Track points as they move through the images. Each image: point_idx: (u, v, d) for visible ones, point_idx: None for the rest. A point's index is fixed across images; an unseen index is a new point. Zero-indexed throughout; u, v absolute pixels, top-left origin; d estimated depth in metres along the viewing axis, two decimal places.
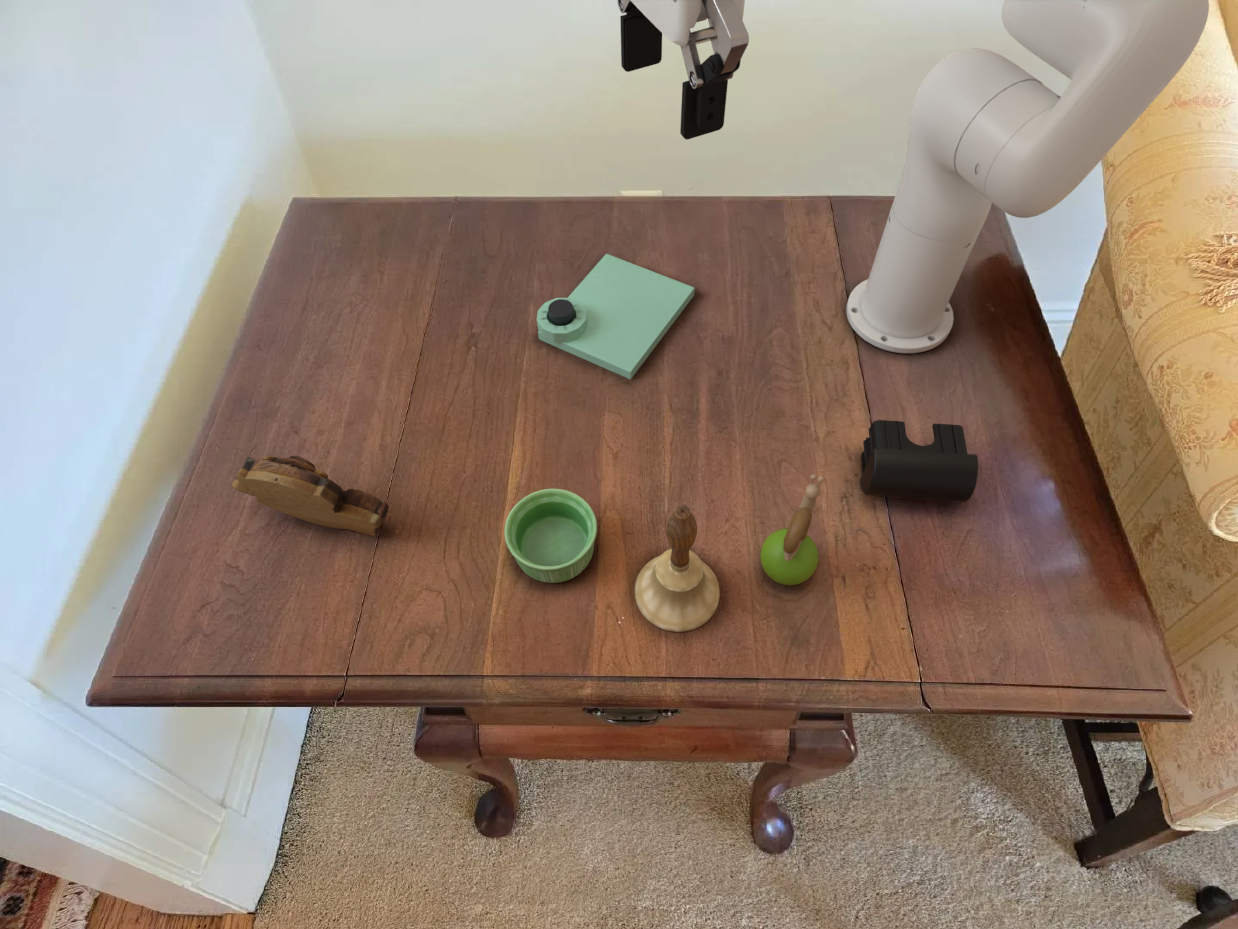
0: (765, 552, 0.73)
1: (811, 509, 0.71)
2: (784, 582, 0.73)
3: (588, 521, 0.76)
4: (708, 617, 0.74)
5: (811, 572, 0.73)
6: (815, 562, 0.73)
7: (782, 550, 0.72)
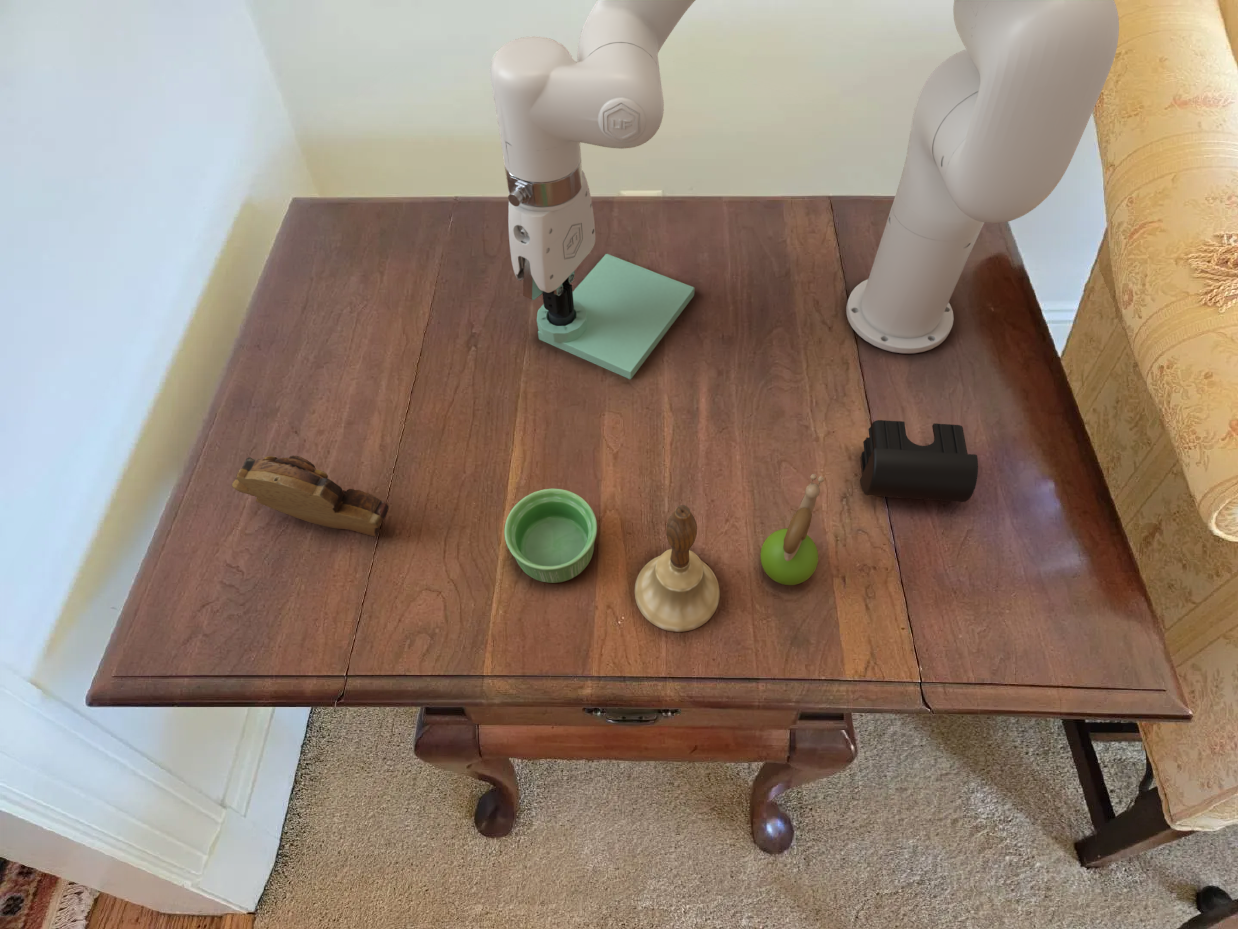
0: (765, 552, 0.73)
1: (811, 509, 0.71)
2: (784, 582, 0.73)
3: (588, 521, 0.76)
4: (708, 617, 0.74)
5: (811, 572, 0.73)
6: (815, 562, 0.73)
7: (782, 550, 0.72)
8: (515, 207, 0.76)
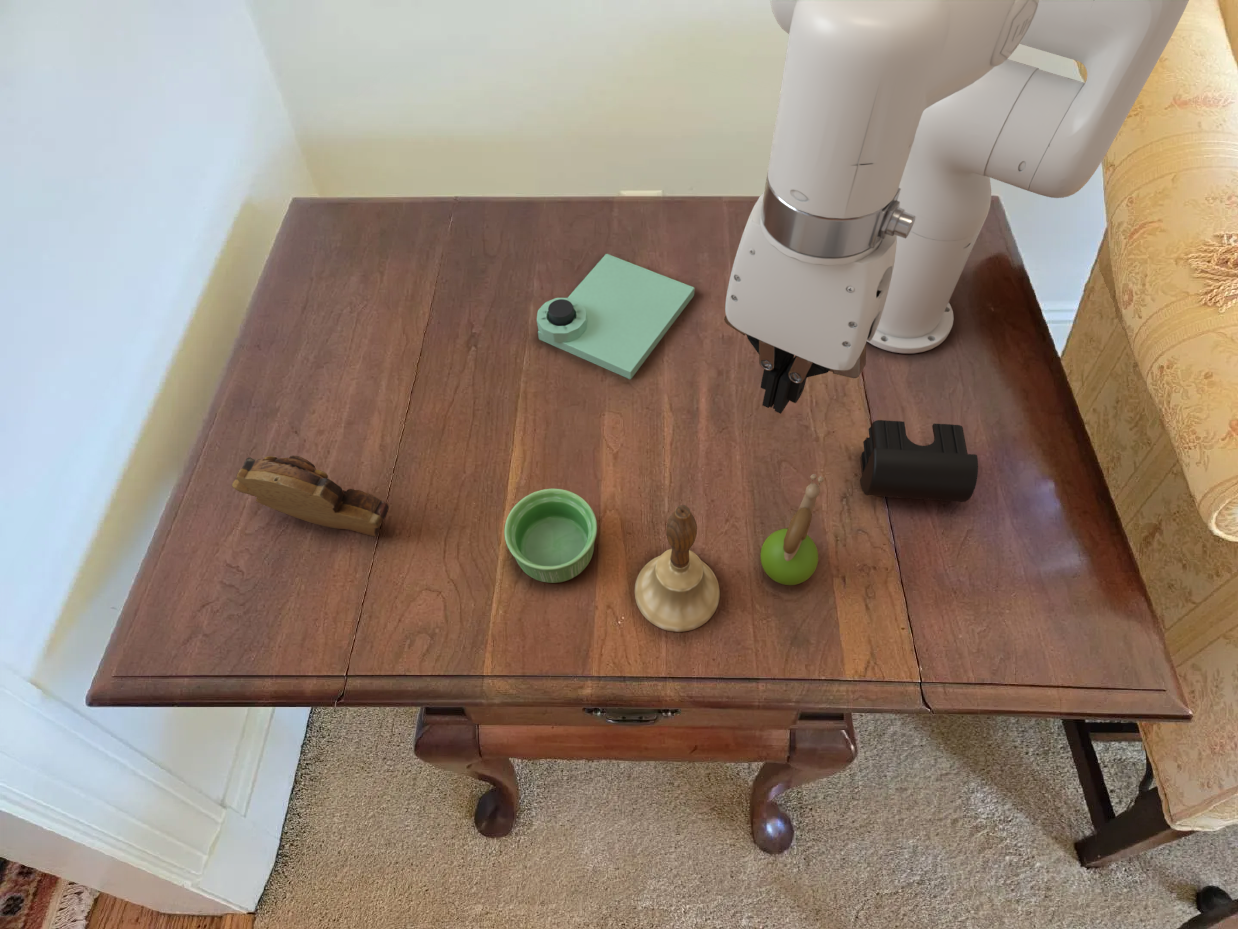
0: (765, 552, 0.73)
1: (811, 509, 0.71)
2: (784, 582, 0.73)
3: (588, 521, 0.76)
4: (708, 617, 0.74)
5: (811, 572, 0.73)
6: (815, 562, 0.73)
7: (782, 550, 0.72)
8: (877, 254, 0.46)
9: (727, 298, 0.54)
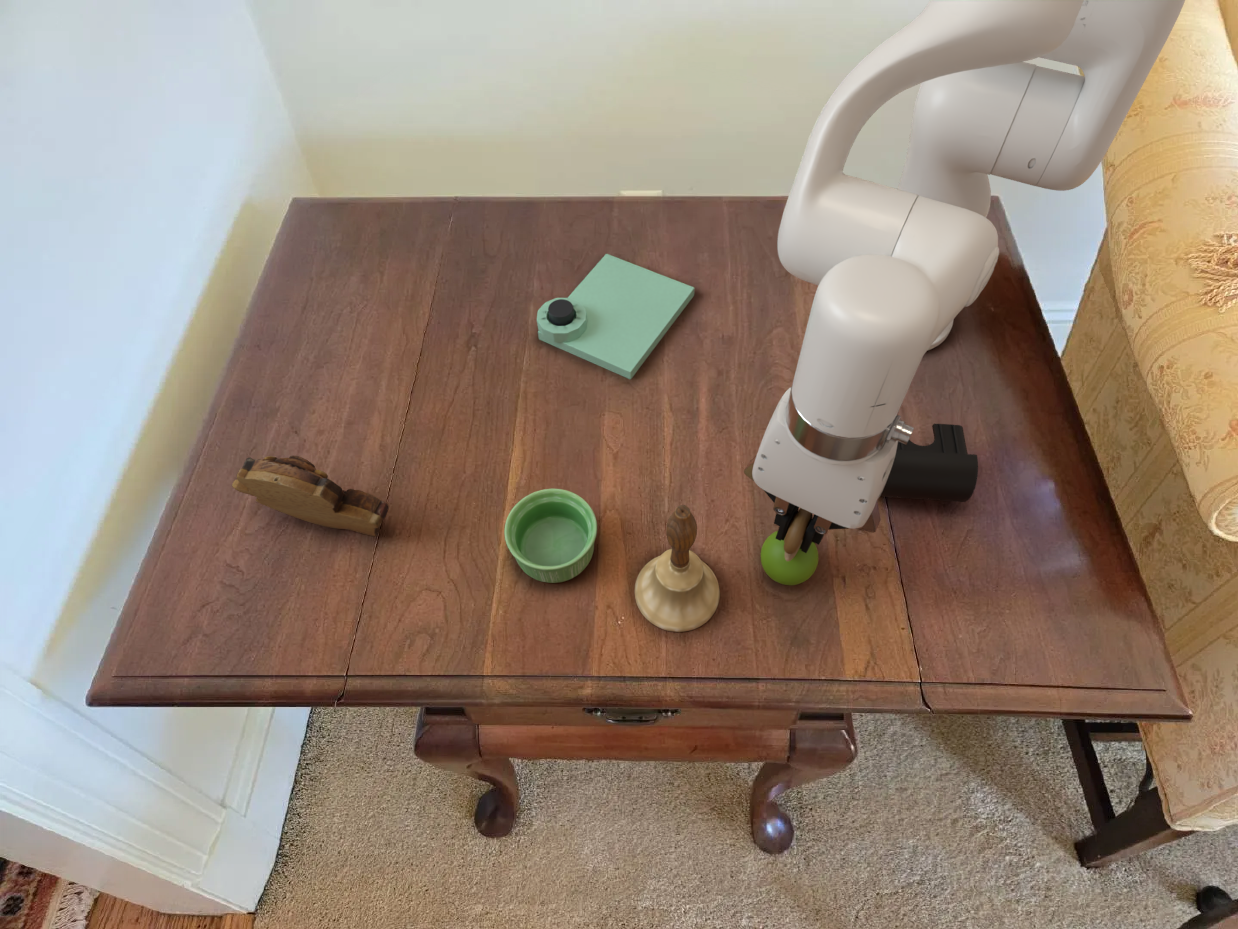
0: (765, 552, 0.73)
1: None
2: (784, 582, 0.73)
3: (588, 521, 0.76)
4: (708, 617, 0.74)
5: (811, 572, 0.73)
6: (815, 562, 0.73)
7: (782, 550, 0.72)
8: (883, 453, 0.56)
9: (754, 467, 0.64)
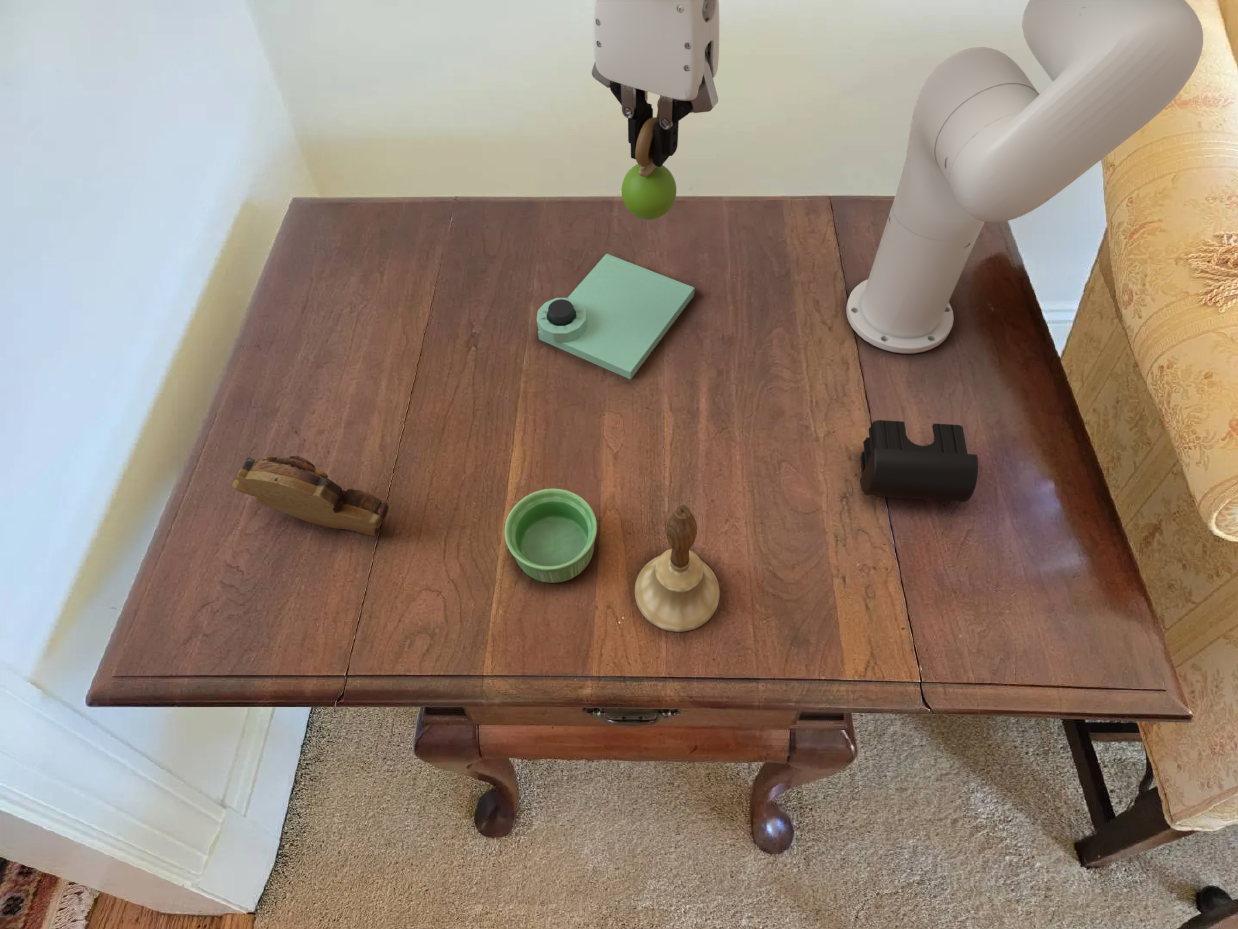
0: (624, 181, 0.76)
1: None
2: (642, 210, 0.75)
3: (588, 521, 0.76)
4: (708, 617, 0.74)
5: (668, 198, 0.75)
6: (672, 188, 0.75)
7: (639, 173, 0.74)
8: None
9: (594, 47, 0.66)
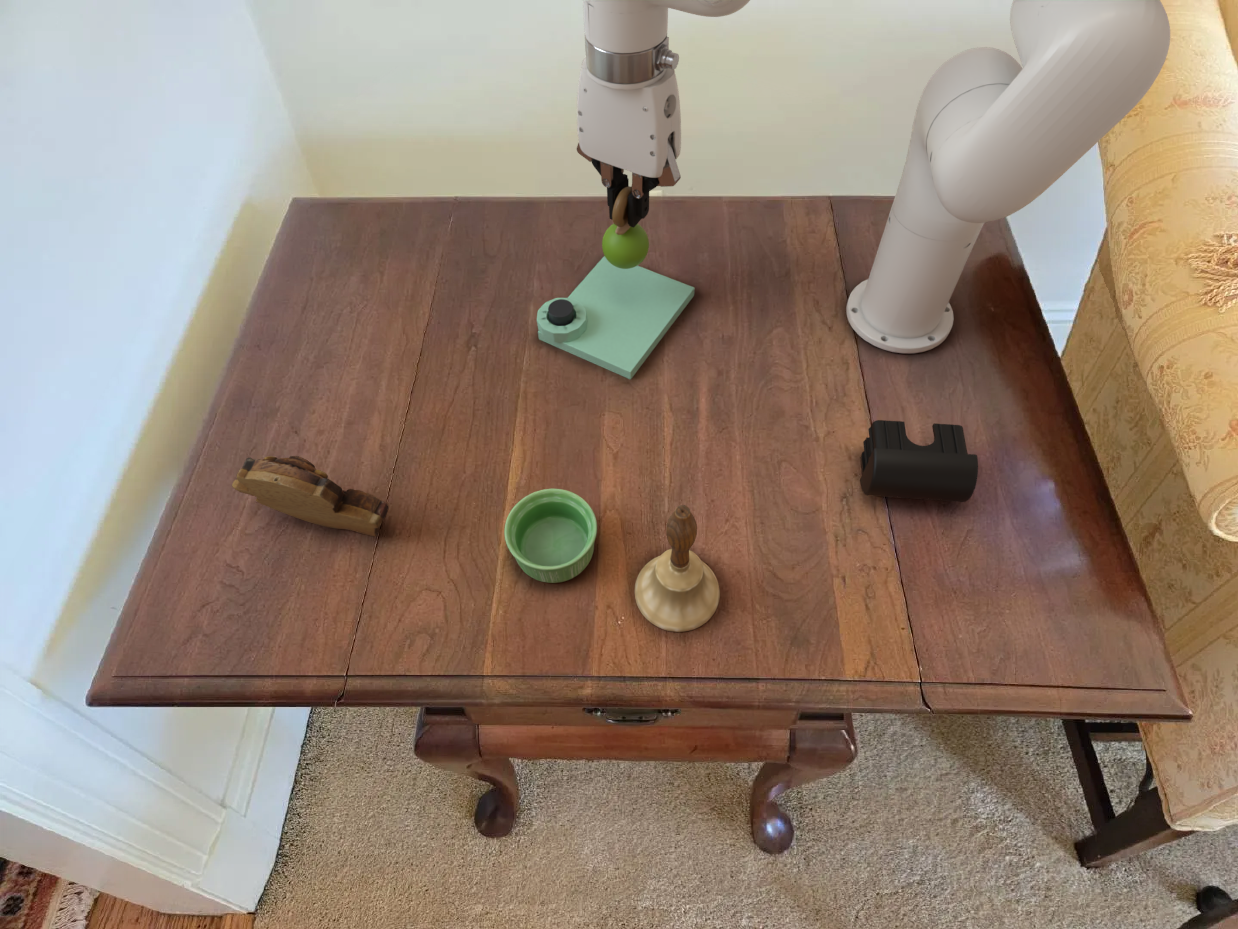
0: (604, 236, 0.89)
1: None
2: (619, 261, 0.89)
3: (588, 521, 0.76)
4: (708, 617, 0.74)
5: (641, 252, 0.88)
6: (644, 244, 0.88)
7: None
8: (659, 83, 0.71)
9: (577, 131, 0.79)
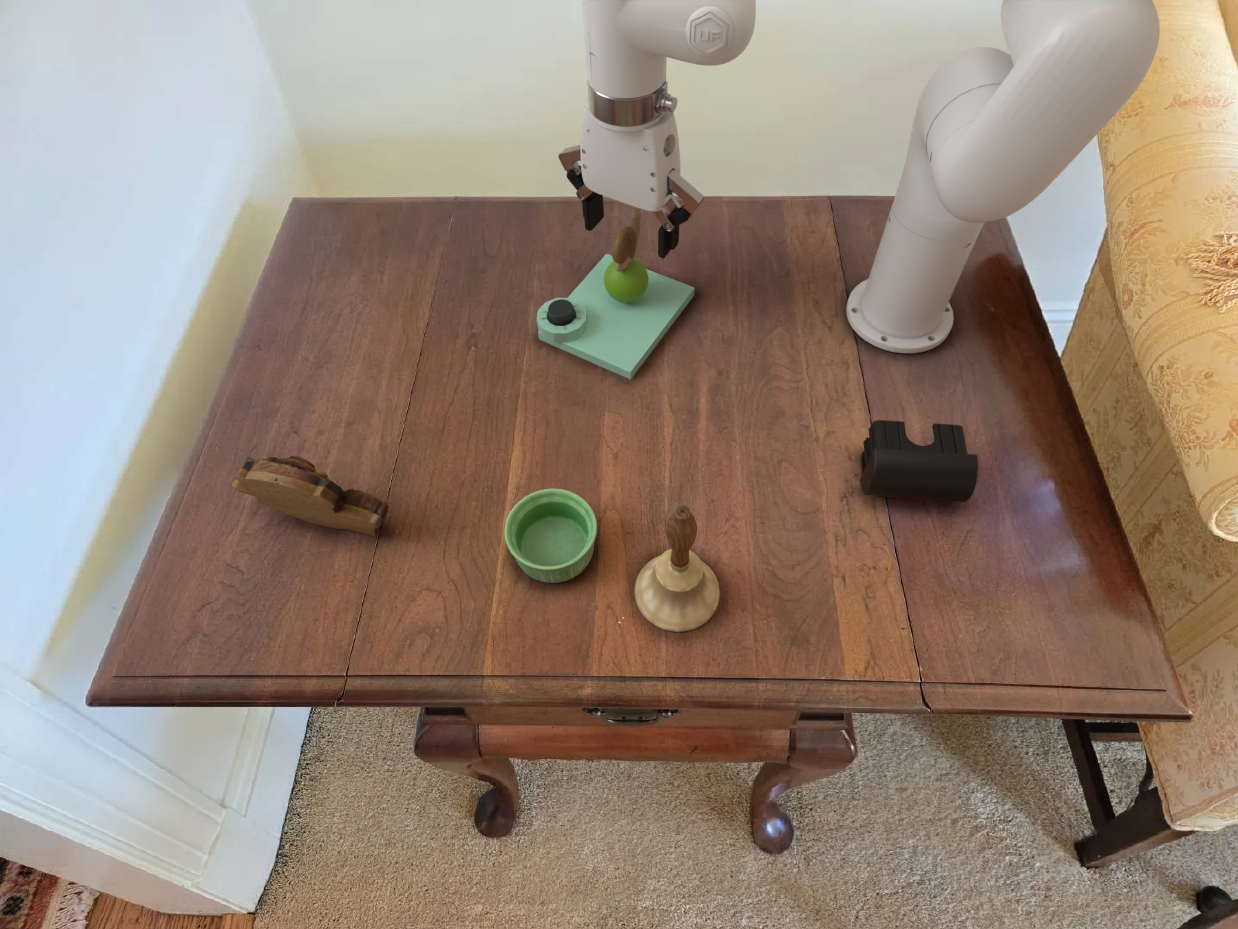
0: (605, 273, 0.93)
1: (637, 231, 0.91)
2: (620, 296, 0.93)
3: (588, 521, 0.76)
4: (708, 617, 0.74)
5: (640, 287, 0.93)
6: (644, 279, 0.93)
7: None
8: (658, 124, 0.75)
9: (581, 167, 0.83)
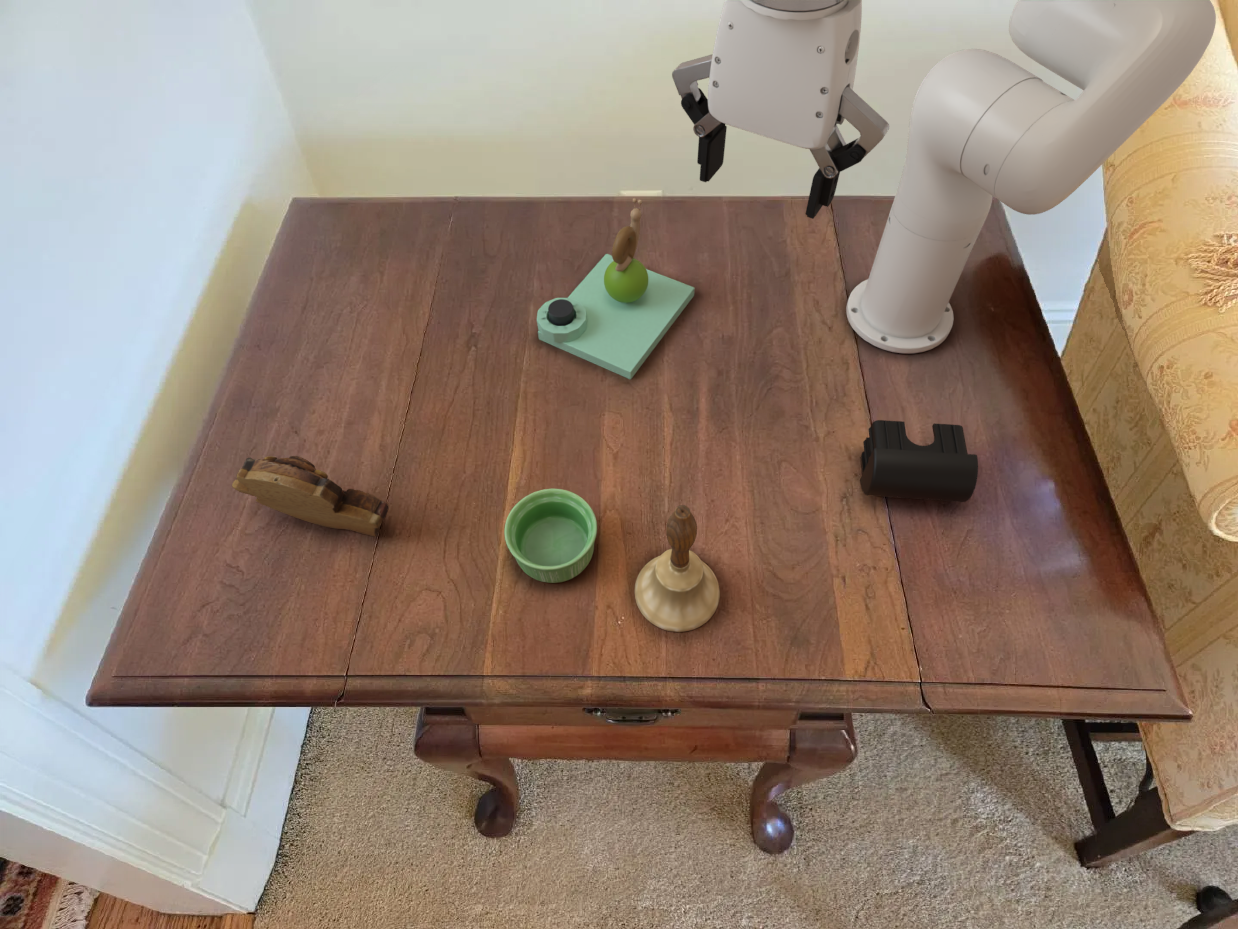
0: (605, 273, 0.93)
1: (637, 231, 0.91)
2: (620, 296, 0.93)
3: (588, 521, 0.76)
4: (708, 617, 0.74)
5: (640, 287, 0.93)
6: (644, 279, 0.93)
7: None
8: (844, 11, 0.51)
9: (709, 87, 0.59)
